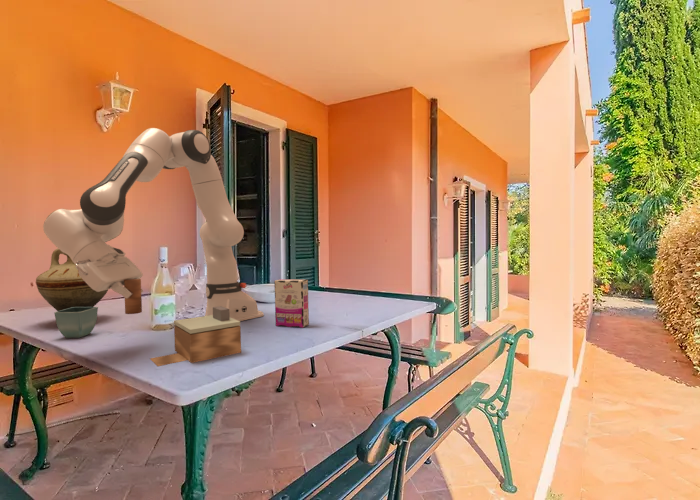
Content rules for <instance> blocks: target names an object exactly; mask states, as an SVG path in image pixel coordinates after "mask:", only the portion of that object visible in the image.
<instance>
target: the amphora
mask: <svg viewBox="0 0 700 500" xmlns="http://www.w3.org/2000/svg"><path fill="white" fill-rule="evenodd" d="M52 251H53V252H52V253H51V257H50V265H49V269H48V270H46V271H44V272H42V273H40V274H39V275H37V276H36V278H35V284H36V288H37V291H38V293H39V294H40V296H41V297H42V298H43V299H44V300H45V301H46V302H47V303H48V304H49V305H50V306H51V307H52V308H53V309H54V310H55V311H56V312H57V311H61V310H64V309H68V308H71V307H96V305H97V304H98V303H99V302H100V301H101V300H102V299H103V298H104V297H105V296H106V295H107V293H108V291H109V289H108V290H104V291H100V292H97V291H95V290H93V289H92V288H91V287H90V286H89V285H88V284H87V283H86V282H85V281H84V280H83V279H82V278H81V277H80V275H79V273H78V272H79V270H78V269H77V268H76V267H75V266H76V265H75V263H74V262H73V261H72V260H71V258H70V257H69V256H68V255H67V254H65V253H63V252H62V251H61V250H59V249H58V248H56V249H54V250H52ZM60 255H64V256H66V261H65V262H64V263H61V264H60V262H59V261H60V260H59V259H60Z"/></svg>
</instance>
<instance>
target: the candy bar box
mask: <svg viewBox="0 0 700 500" xmlns="http://www.w3.org/2000/svg"><path fill="white" fill-rule="evenodd" d="M273 283H274V307H275V308H274V309H275V310H274V311H275V312H274V313H275V326H276V327H284V328H286V327H287V328H300V329H301V328H302V329H303V328H305V327H308V326H309V325H310V317H309V314H310V313H309V279H287V278H286V279H284V278H283V279H282V278H281V279H276V280H274V282H273Z"/></svg>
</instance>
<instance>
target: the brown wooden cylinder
mask: <svg viewBox="0 0 700 500" xmlns="http://www.w3.org/2000/svg"><path fill="white" fill-rule="evenodd" d="M123 287H125V288H126V289H130V290H131V292H133V295H132V296H131V297H130V298H125V297H124V314H125V315H137V314H141V313H143V308H142V307H143V303H142V302H143V301H142V293H141V289H142V279H141V278H140V279H127V280H124V286H123Z"/></svg>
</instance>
